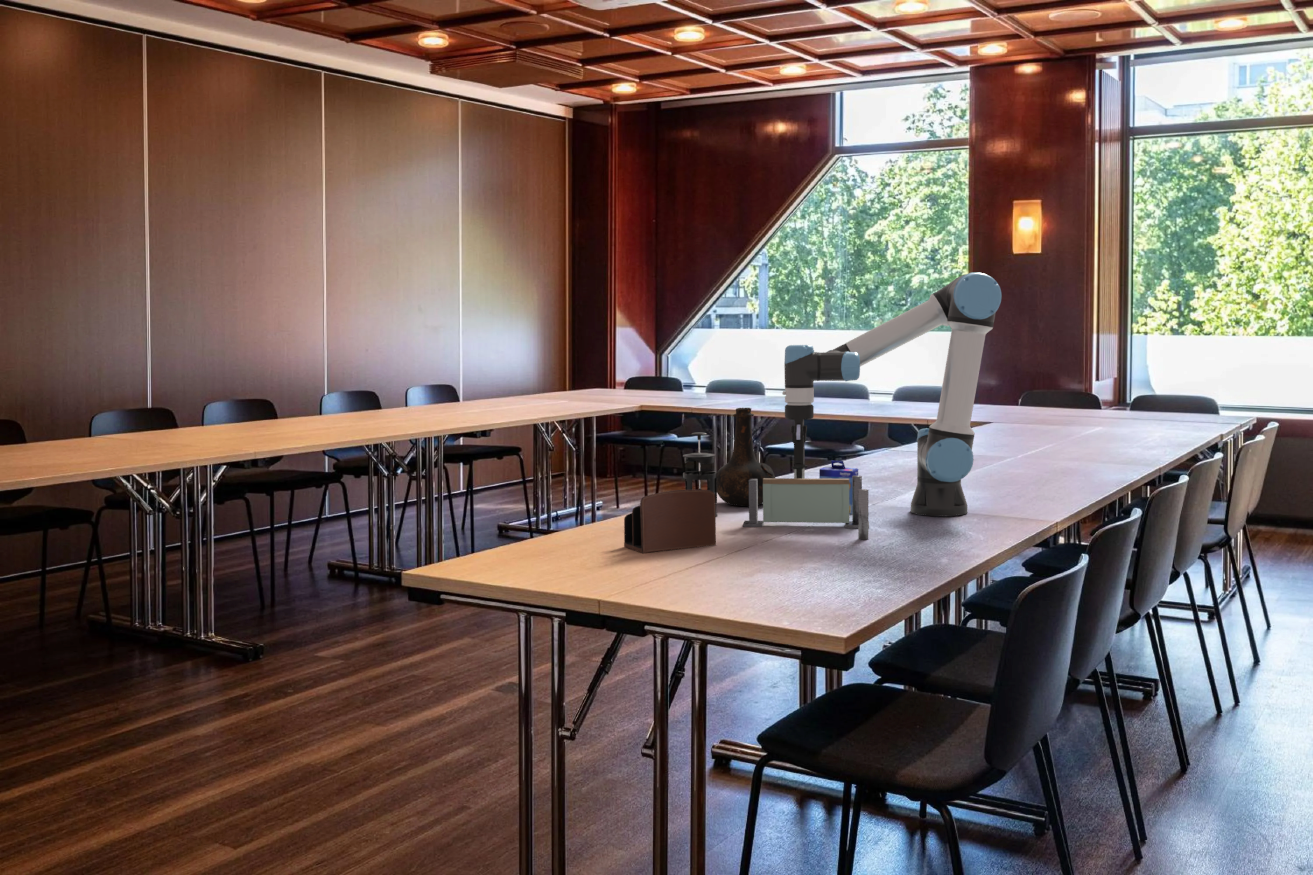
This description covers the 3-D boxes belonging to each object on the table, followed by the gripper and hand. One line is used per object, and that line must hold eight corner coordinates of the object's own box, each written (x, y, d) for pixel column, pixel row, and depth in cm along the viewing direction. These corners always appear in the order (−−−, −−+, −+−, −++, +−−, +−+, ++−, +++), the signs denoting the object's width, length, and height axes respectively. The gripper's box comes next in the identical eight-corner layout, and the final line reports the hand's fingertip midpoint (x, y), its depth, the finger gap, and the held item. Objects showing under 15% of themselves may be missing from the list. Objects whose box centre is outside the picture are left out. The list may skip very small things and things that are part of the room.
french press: (701, 520, 331) (699, 435, 329) (674, 517, 337) (673, 433, 335) (728, 514, 340) (727, 431, 337) (701, 511, 346) (700, 429, 344)
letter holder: (716, 545, 295) (716, 487, 294) (642, 554, 286) (641, 493, 285) (696, 539, 304) (695, 482, 302) (623, 547, 295) (622, 488, 293)
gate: (849, 521, 319) (849, 478, 318) (849, 523, 317) (849, 479, 316) (763, 520, 322) (763, 478, 321) (763, 522, 321) (762, 479, 319)
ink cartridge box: (818, 512, 341) (818, 460, 339) (824, 509, 346) (824, 458, 344) (853, 514, 336) (853, 461, 335) (859, 511, 341) (859, 459, 340)
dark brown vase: (760, 510, 346) (759, 410, 343) (703, 506, 355) (702, 409, 352) (786, 502, 362) (785, 406, 359) (731, 498, 370) (730, 405, 368)
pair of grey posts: (868, 524, 320) (868, 474, 319) (869, 539, 298) (869, 486, 297) (744, 523, 325) (744, 474, 324) (736, 538, 303) (736, 485, 302)
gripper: (786, 402, 332) (786, 489, 334) (783, 405, 319) (783, 496, 321) (814, 402, 330) (814, 489, 333) (812, 405, 318) (812, 496, 320)
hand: (799, 492), depth 327 cm, fingers closed
